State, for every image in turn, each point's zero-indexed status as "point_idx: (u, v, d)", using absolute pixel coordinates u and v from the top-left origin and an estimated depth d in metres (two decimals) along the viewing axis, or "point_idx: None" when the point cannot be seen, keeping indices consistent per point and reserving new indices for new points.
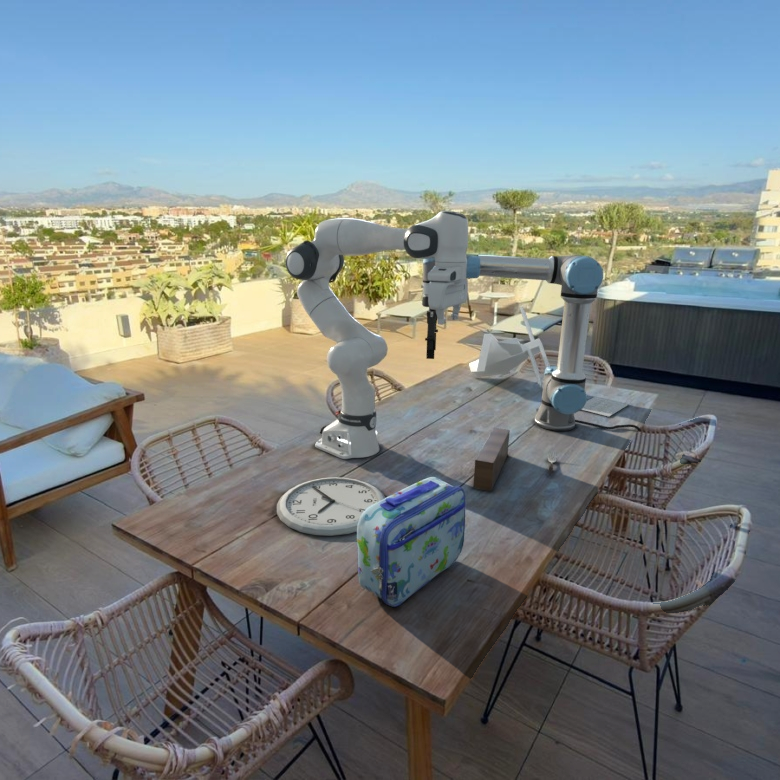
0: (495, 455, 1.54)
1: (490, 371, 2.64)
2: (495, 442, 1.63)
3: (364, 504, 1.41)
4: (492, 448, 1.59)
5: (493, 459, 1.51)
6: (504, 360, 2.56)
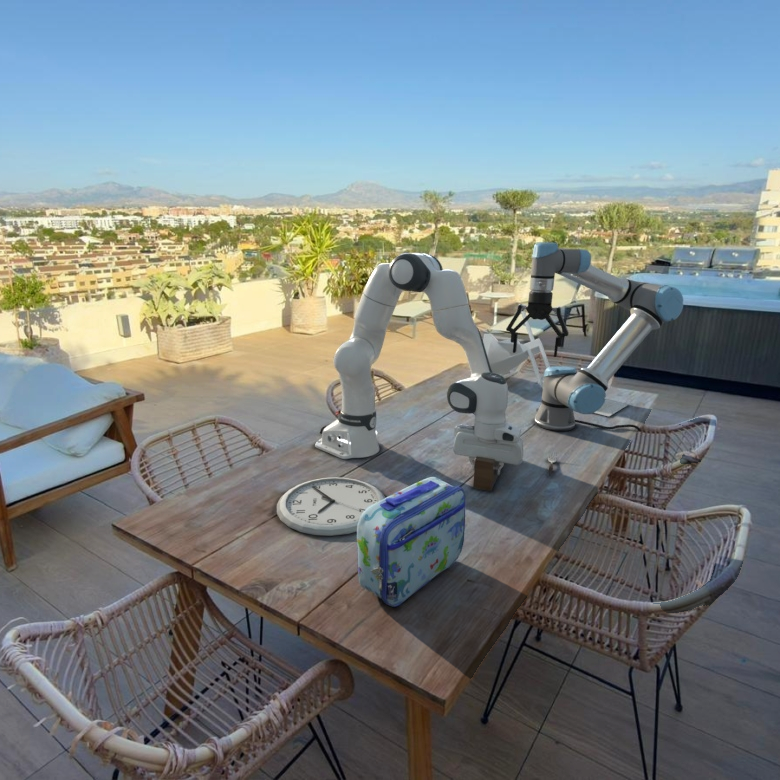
0: None
1: None
2: None
3: (364, 504, 1.41)
4: None
5: (493, 459, 1.51)
6: (504, 360, 2.56)
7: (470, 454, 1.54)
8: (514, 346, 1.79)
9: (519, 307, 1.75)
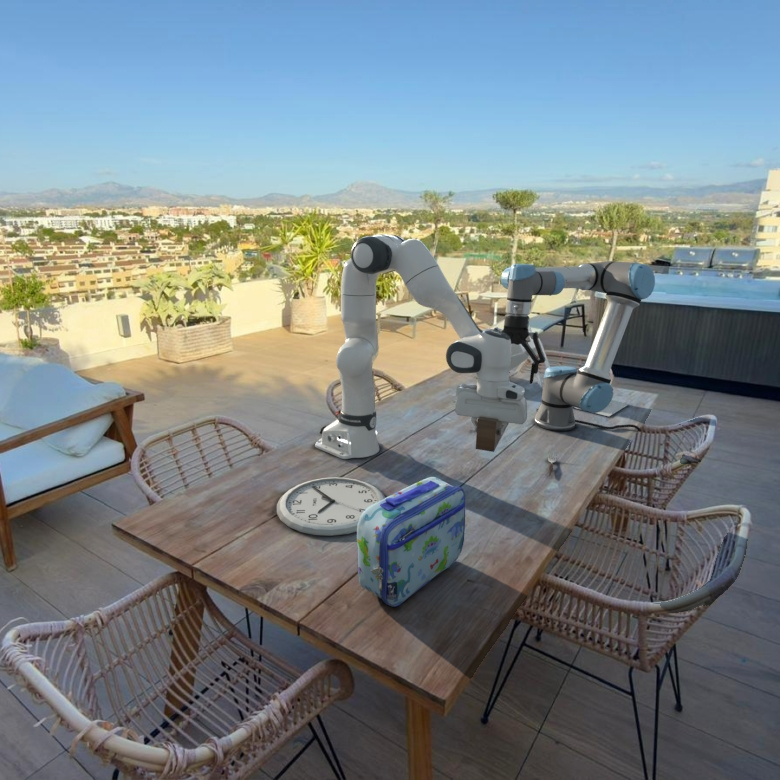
0: None
1: None
2: None
3: (364, 504, 1.41)
4: None
5: (496, 419, 1.48)
6: None
7: (472, 414, 1.50)
8: None
9: None
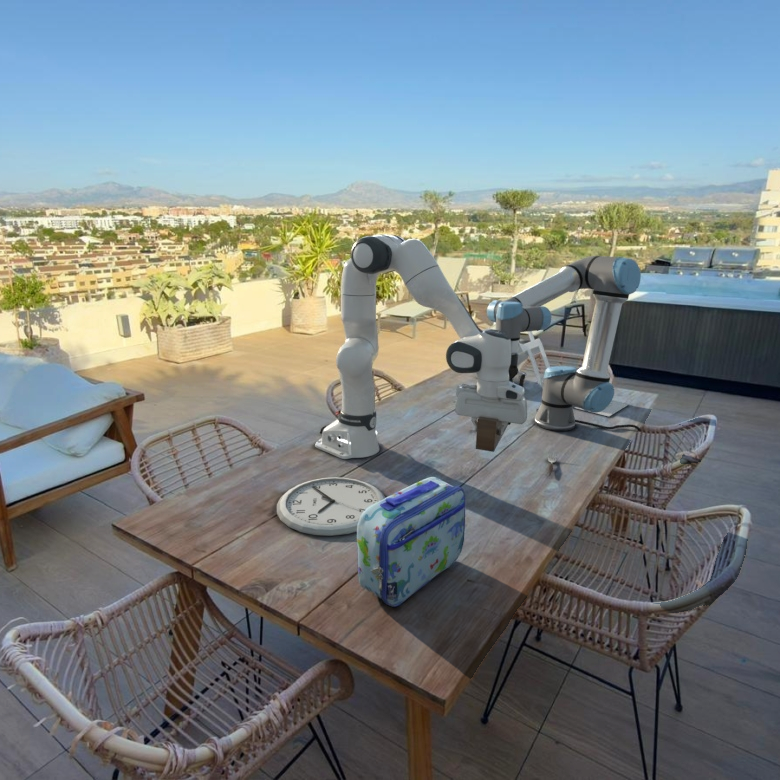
0: None
1: None
2: None
3: (364, 504, 1.41)
4: None
5: (496, 419, 1.48)
6: None
7: (472, 414, 1.50)
8: None
9: None
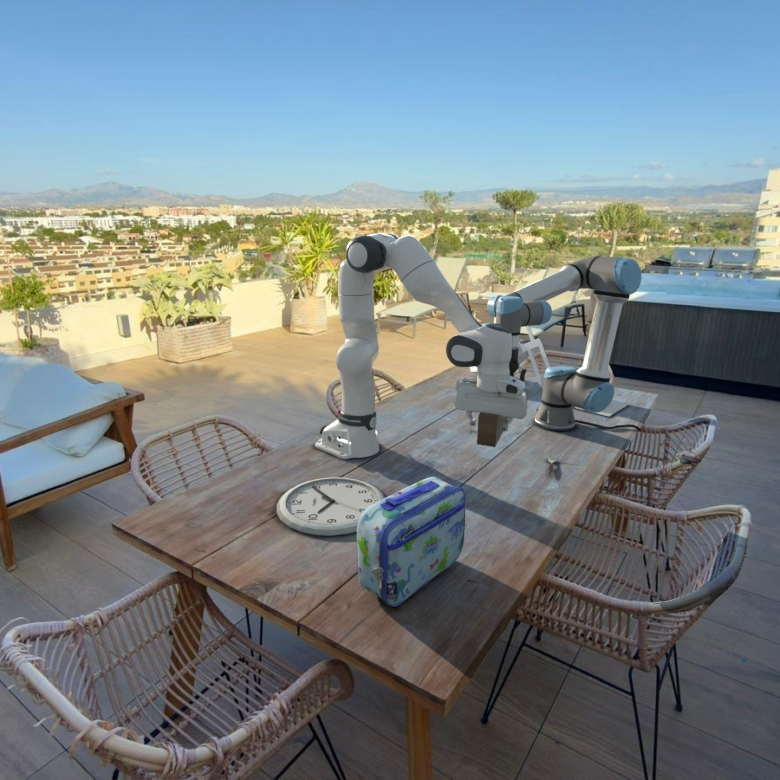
0: None
1: None
2: None
3: (364, 504, 1.41)
4: None
5: None
6: None
7: (472, 408, 1.49)
8: None
9: None
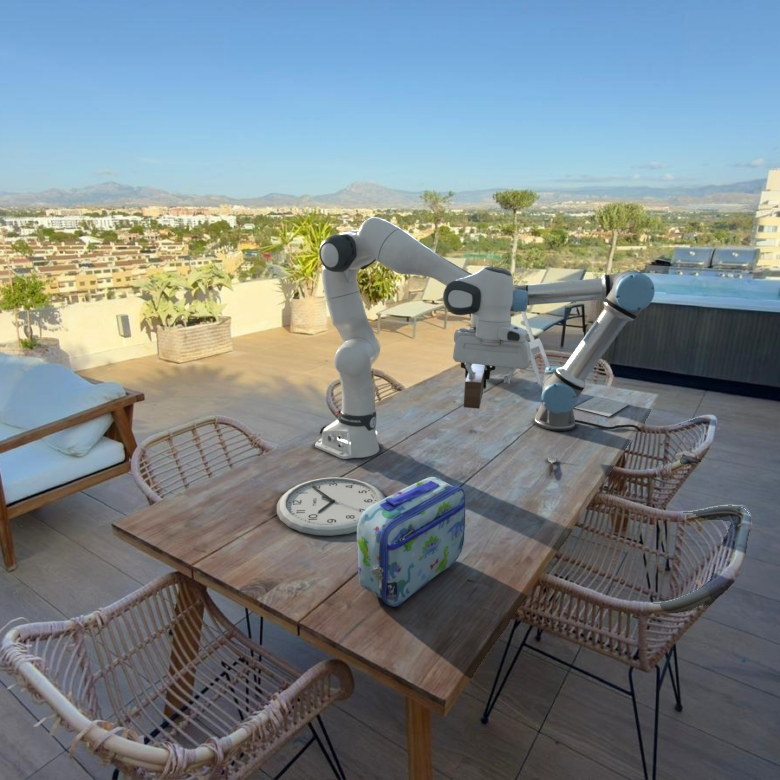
0: (480, 378, 1.77)
1: (490, 371, 2.64)
2: (477, 370, 1.86)
3: (364, 504, 1.41)
4: (476, 374, 1.82)
5: (480, 380, 1.74)
6: None
7: (471, 360, 1.40)
8: None
9: None
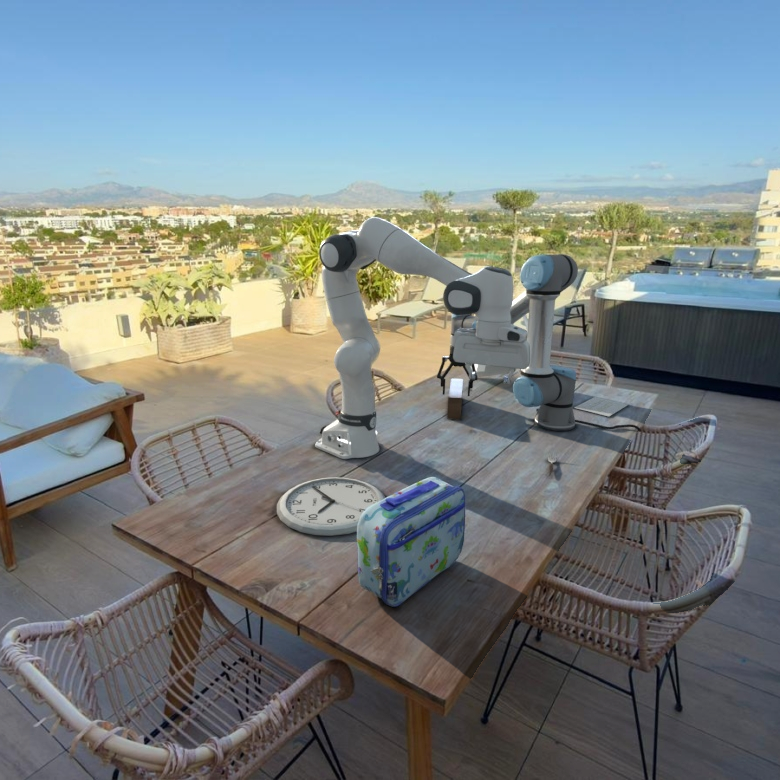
0: (460, 393, 2.11)
1: (490, 371, 2.64)
2: (457, 386, 2.20)
3: (364, 504, 1.41)
4: (456, 390, 2.15)
5: (460, 396, 2.08)
6: None
7: (471, 360, 1.40)
8: (443, 389, 2.28)
9: (443, 359, 2.25)
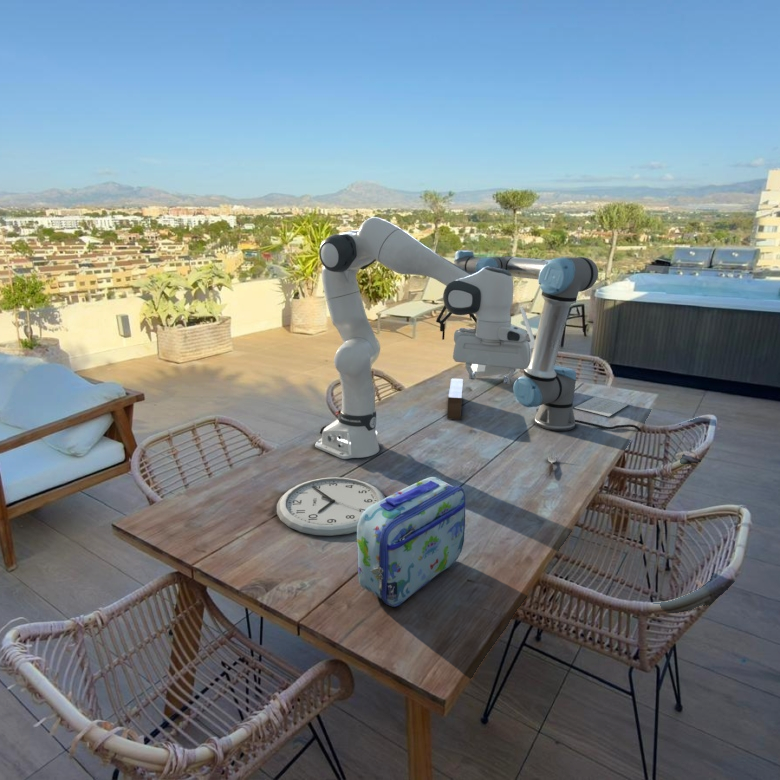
0: (460, 393, 2.11)
1: (490, 371, 2.64)
2: (457, 386, 2.20)
3: (364, 504, 1.41)
4: (456, 390, 2.15)
5: (460, 396, 2.08)
6: None
7: (471, 360, 1.40)
8: (443, 334, 2.21)
9: None
